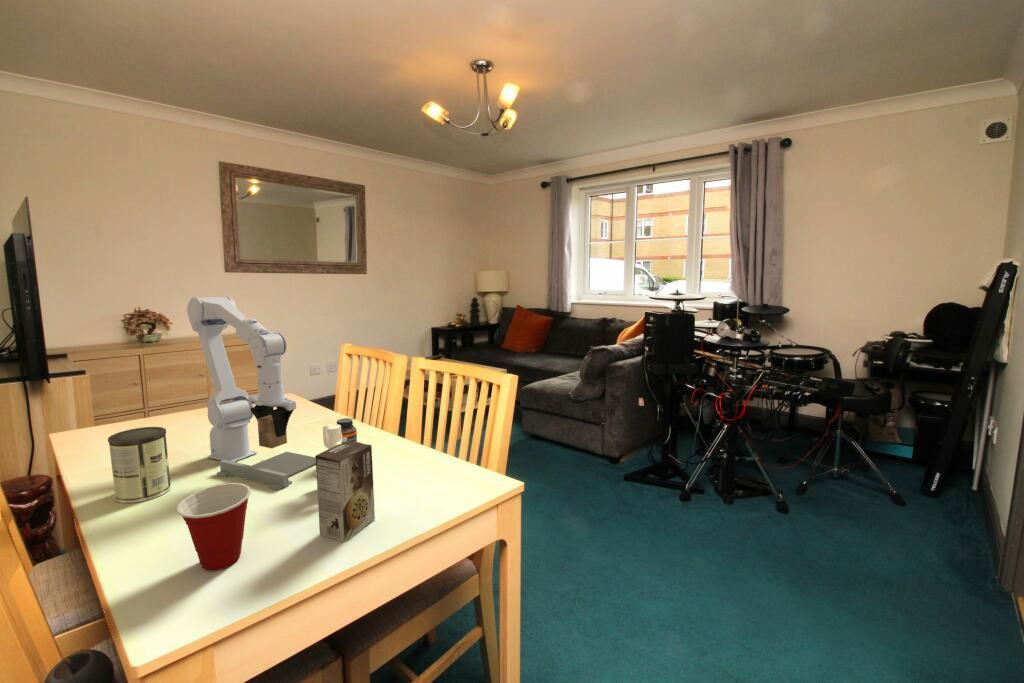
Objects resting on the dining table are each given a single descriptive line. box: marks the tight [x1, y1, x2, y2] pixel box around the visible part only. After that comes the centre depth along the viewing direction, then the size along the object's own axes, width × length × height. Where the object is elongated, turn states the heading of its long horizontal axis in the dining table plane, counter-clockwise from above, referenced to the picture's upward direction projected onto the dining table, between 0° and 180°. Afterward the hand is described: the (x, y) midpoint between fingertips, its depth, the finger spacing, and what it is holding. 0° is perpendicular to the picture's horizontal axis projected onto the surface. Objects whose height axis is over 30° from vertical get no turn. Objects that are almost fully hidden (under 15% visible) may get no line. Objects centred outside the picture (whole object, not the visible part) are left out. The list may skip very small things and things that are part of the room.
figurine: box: [314, 423, 342, 476], centre depth 111 cm, size 7×9×15 cm
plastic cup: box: [176, 482, 252, 572], centre depth 82 cm, size 11×11×12 cm
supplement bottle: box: [336, 417, 358, 443], centre depth 128 cm, size 6×6×11 cm
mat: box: [251, 451, 316, 479], centre depth 126 cm, size 14×12×1 cm
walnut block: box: [257, 415, 288, 449], centre depth 121 cm, size 4×4×7 cm
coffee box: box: [314, 441, 376, 542], centre depth 94 cm, size 9×6×16 cm
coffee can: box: [107, 426, 172, 504], centre depth 108 cm, size 10×10×14 cm
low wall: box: [216, 460, 293, 491], centre depth 117 cm, size 22×4×3 cm, turn 67°
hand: (273, 434), depth 122 cm, fingers closed on walnut block, 4 cm apart
